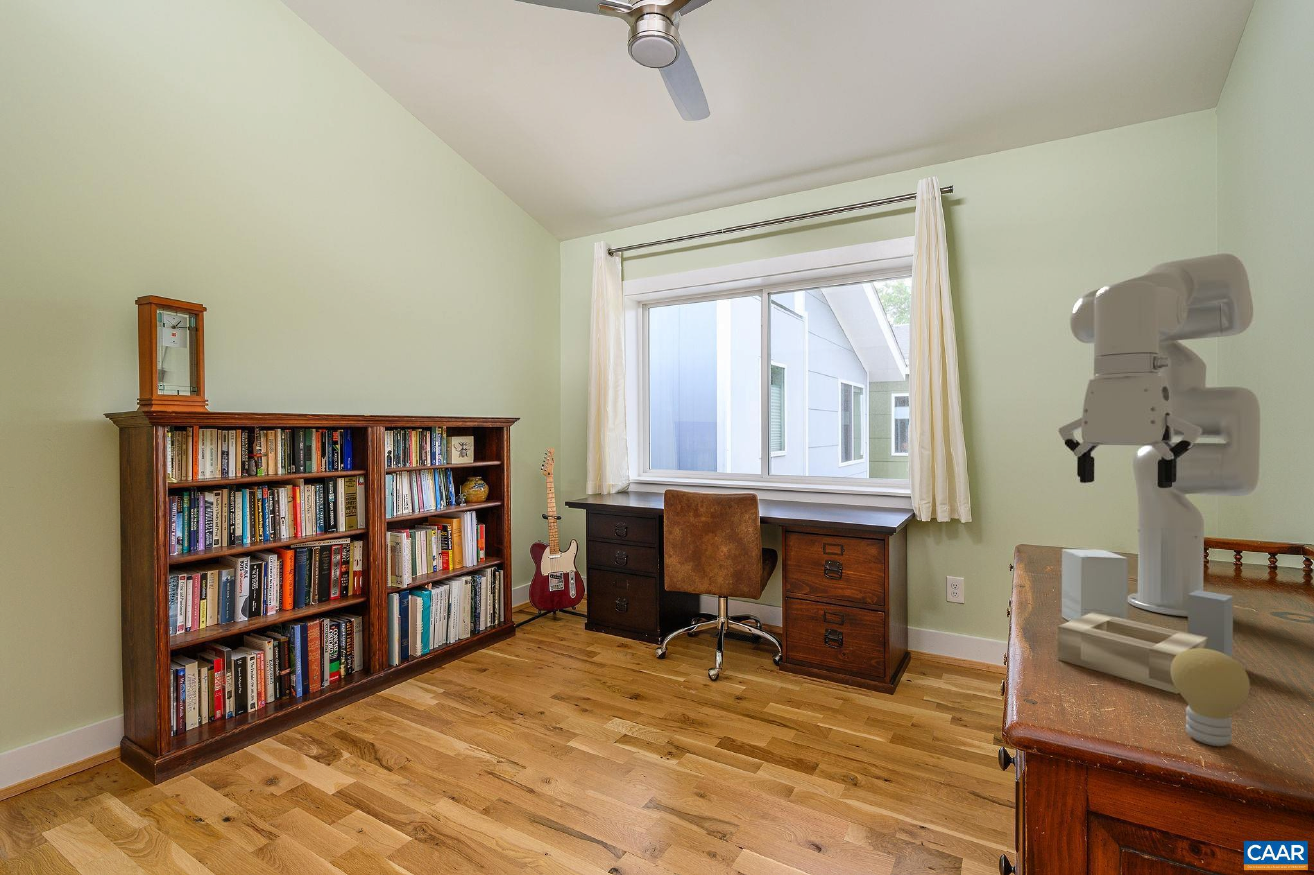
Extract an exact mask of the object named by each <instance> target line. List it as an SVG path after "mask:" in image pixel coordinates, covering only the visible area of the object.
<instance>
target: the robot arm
mask: <svg viewBox="0 0 1314 875" xmlns="http://www.w3.org/2000/svg"><path fill="white" fill-rule="evenodd" d="M1246 270H1247V269H1246V267H1245V265H1244V263H1243V262H1242V261H1241V260H1240V258H1238V257H1237V256H1235V254H1231V253H1217V254H1211V255H1210V254H1209V255H1206V256H1205V255H1203V256H1199V257H1197V256H1196V257H1193V258H1185V259H1178V260H1172V261H1167V262H1162V263H1160V264H1159V263H1158V264H1156V265H1155V266H1152V267H1150V268H1148V269H1147V270H1146V271H1145V272H1143V273H1142V274H1141V275H1140V276H1137V277H1133V278H1130V279H1126V280H1123V281H1121V282H1117V283H1114V284H1109V285H1107V286H1104V287H1101V288H1098V289H1094V290H1092V291H1089V292H1087V293H1086V294H1084V295H1083V296H1081V297H1080V298H1079V299H1078V300H1077V302H1076V303H1075V304H1074V306H1073V308H1072V310H1071V314H1070V318H1069V321H1070V322H1069V325H1070V326H1069V327H1070V329H1071V333H1072V335H1073V337H1074V338H1076V340H1077V341H1079V342H1081V343H1084V344H1093V346H1094V348H1093V379H1089V380H1088V382H1087V383H1088V384H1087V385H1086V386H1087V387H1086V390H1085V394H1084V395H1085V396H1084V401H1083V406H1082V414H1081V415H1082V416H1081V417H1080V418H1078V419H1076V420H1073V421H1071V422H1070V423H1068V424H1067V423H1066V424H1065V425H1063V426H1061V427H1059V428H1058V433H1059V435H1060V437H1061V438H1062V440H1063V441H1064V445H1065V446H1066V447H1067V448H1068V449H1069V450H1070V452H1072V453H1073V455H1074V456H1075V457H1076V458H1077V462H1076V464H1077V465H1076V467H1077V468H1076V471H1077V474H1076V475H1077V477H1079V482H1080V484H1086V483H1094V481H1095V457H1094V456H1093V455H1092V453H1093V452H1094V451H1095V450H1096V449H1097V448H1098V447H1099V446H1100V445H1101V446H1102V445H1103V446H1140V447H1139V448H1138V449H1137V450H1136V451H1135V453H1134V456H1133V458H1132V469H1133V475H1134V480H1135V487H1136V490H1137V491H1136V493H1137V505H1138V506H1137V507H1138V508H1137V511H1138V515H1137V516H1138V520H1137V521H1138V523H1137V524H1138V526H1137V527H1138V530H1137V531H1138V532H1137V533H1138V535H1137V536H1138V537H1137V540H1138V541H1137V551H1138V552H1137V592H1136V593H1135V592H1133V593H1130V594H1128V604H1130V605H1132V606H1134V607H1136V608H1139V609H1141V610H1142V609H1143V610H1146V611H1149V612H1154V613H1159V614H1165V615H1170V616H1178V617H1186V618H1188V594H1190V593H1192V592H1194V591H1196V590H1200V591H1204V543H1205V542H1204V541H1205V538H1204V537H1205V536H1204V535H1205V534H1204V533H1205V520H1204V517H1203V515H1202V513H1201V511H1200V510H1199V508H1197V506H1195V504H1194V503H1193V502H1191V501H1190V500H1189V498H1187V496H1186V495H1206V496H1207V495H1209V496H1226V497H1227V496H1228V497H1241V496H1248V495H1250V494H1252V493H1253V492H1254V491H1255V490H1256V488H1257V486H1258V482H1259V475H1260V453H1261V452H1260V450H1261V448H1260V445H1261V444H1260V443H1261V409H1260V408H1261V407H1260V403H1259V400H1258V397H1257V396H1256V394H1255V392H1253V391H1252V390H1251V389H1248V388H1246V387H1241V386H1218V387H1217V386H1214V387H1213V386H1212V387H1211V386H1210V387H1207V385H1206V384H1207V383H1206V382H1207V381H1206V380H1207V366H1206V362H1205V361H1204V360H1203V359H1202V358H1201V357H1200V356H1199V354H1197V353H1196V352H1194V350H1192V349H1191V348H1189V347H1187V346H1186V345H1184V344H1183V343H1181V341H1184V340H1185V341H1186V340H1196V339H1197V340H1198V339H1199V340H1200V339H1210V338H1220V337H1222V338H1223V337H1233V336H1236V335H1240V334H1242V333H1244V332H1246V331H1247V329H1249V327H1250V326H1251V324H1252V321H1253V318H1254V306H1253V303H1254V302H1253V298H1252V293H1251V287H1250V281H1249V277H1248V273H1247V271H1246ZM1079 430H1081V438H1082V440H1083V441H1082V442H1079V440H1077V439H1076V438H1075V435H1074V434H1075V432H1076V431H1079ZM1174 438H1178V439H1179V438H1181V440H1180V441H1178V442H1176V441H1175V442H1173V439H1174ZM1201 438H1202V439H1221V440H1223V441H1224V443H1223V442H1197V441H1198V439H1201Z"/></svg>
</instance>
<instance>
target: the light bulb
mask: <svg viewBox="0 0 1314 875" xmlns="http://www.w3.org/2000/svg"><path fill="white" fill-rule="evenodd" d="M1171 677H1172V680H1173V683H1174V685H1175V687H1176V688H1177V690H1178V691H1179V693H1178V694H1180V696H1182V698H1183V699H1184V700H1185V702H1186V703H1187V704H1188V705H1187V706H1186V708H1185V714H1186V716H1185V732H1187V734H1188V735H1189V736H1190V737H1191V738H1193V740H1195V741H1198V742H1199V743H1203V744H1205V745H1208V746H1214V747H1215V746H1216V747H1226V746H1227V745H1229V744H1231V743H1232V740H1233V739H1232V738H1233V737H1232V733H1233V732H1232V731H1233V730H1232V724H1233V718H1232V716H1231V715H1230V714H1231V713H1232V712H1233V711H1234V710H1236V709H1237V708H1239V707H1240V706H1241V705H1243V703H1244V702H1245V701H1246V700H1247V698H1248V696H1249V693H1250V690H1251V689H1250V688H1251V684H1250V678H1249V676H1248V673H1247V671H1246V669H1245V668H1244V667H1243V666H1242V664H1240V663H1239V661H1238V660H1236V659H1234V658H1233V657H1232V658H1231V657H1229V656H1227V655H1225V654H1223V653H1221V652H1218V651H1215V650H1211V649H1203V648H1195V649H1189V650H1185V651H1182V652H1180V653H1179V654H1177V655H1176V656H1175V658H1174V659H1173V661H1172V664H1171Z"/></svg>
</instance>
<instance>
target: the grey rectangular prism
mask: <svg viewBox="0 0 1314 875" xmlns="http://www.w3.org/2000/svg"><path fill="white" fill-rule="evenodd" d="M1233 630H1234V596H1233V595H1229V594H1222V593H1218V592H1217V593H1216V592H1212V591H1211V592H1210V591H1204V590H1203V591H1200V590H1196V591H1194V592H1192V593H1190V594H1188V617H1187V633H1190V634H1194V635H1199V636H1204V637H1208V649H1211V650H1215V651H1218V652H1221V653H1223V654H1225V655H1227V656H1229V657H1231V658H1232V659H1233V647H1234V646H1233V642H1234V641H1233V637H1234V636H1233V635H1234V632H1233Z"/></svg>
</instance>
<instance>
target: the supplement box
mask: <svg viewBox="0 0 1314 875" xmlns="http://www.w3.org/2000/svg"><path fill="white" fill-rule="evenodd" d="M1061 555H1062V556H1061V617H1062V618H1063V619H1065V620H1066V621H1067V622H1070V621H1072V620H1075V619H1077V618H1080V617H1082V616H1085V615H1087V614H1090V613H1092V612H1094V613H1098V614H1103V615H1108V616H1112V617H1117V618H1121V619H1126V620H1129V619H1128V618H1129V617H1128V616H1129V615H1128V614H1129V613H1128V612H1129V608H1128V606H1129V605H1128V604H1129V602H1128V595H1129V594H1128V593H1129V592H1128V590H1129V589H1128V587H1129V584H1128V579H1129V578H1128V576H1129V575H1128V574H1129V572H1128V571H1129V569H1128V568H1129V567H1128V566H1129V563H1128V561H1129V558H1128V557H1125V556H1123V555H1119V554H1117V553H1114V552H1111V551H1109V550H1106V549H1080V548H1078V549H1075V548H1073V549H1072V548H1070V549H1069V548H1068V549H1067V548H1062V550H1061Z"/></svg>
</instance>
